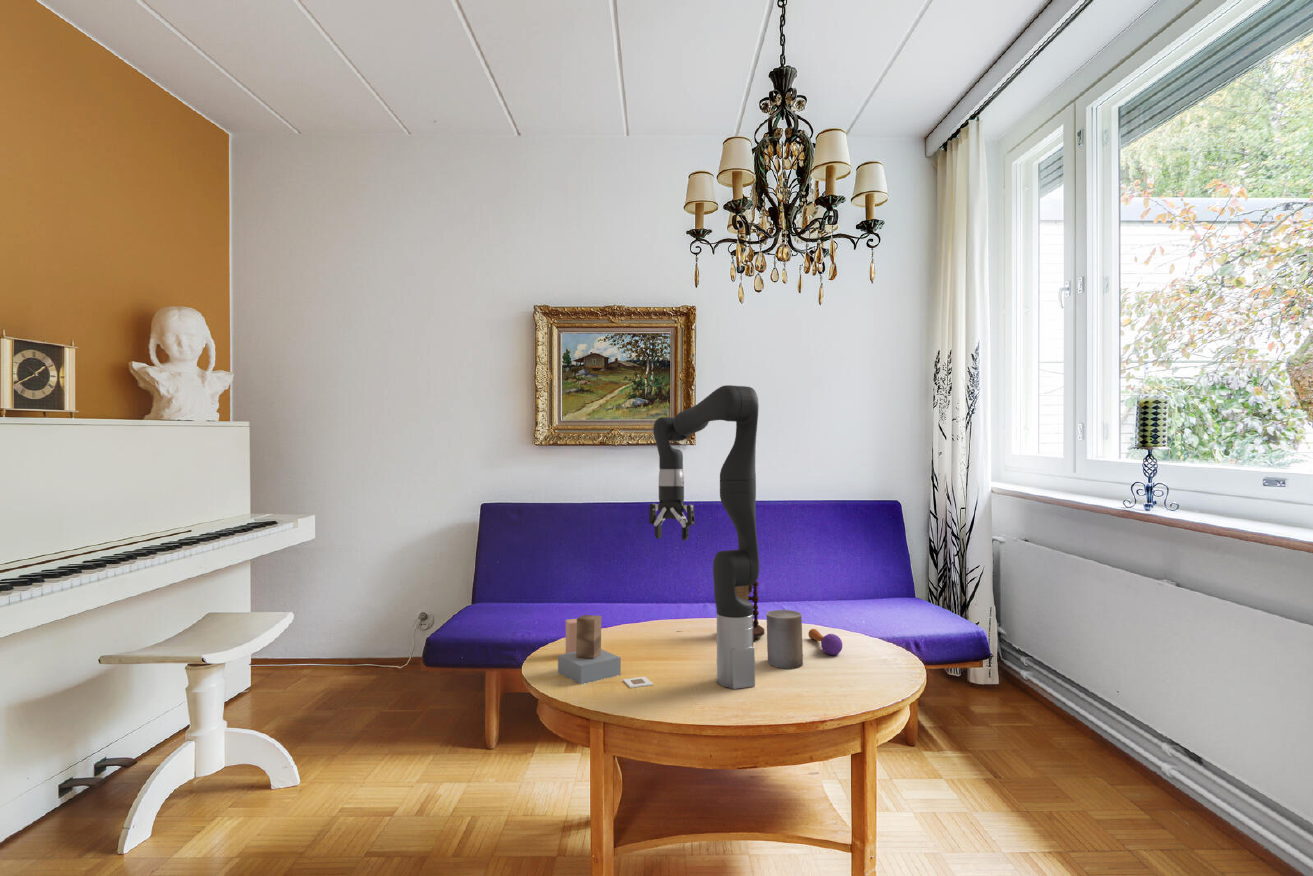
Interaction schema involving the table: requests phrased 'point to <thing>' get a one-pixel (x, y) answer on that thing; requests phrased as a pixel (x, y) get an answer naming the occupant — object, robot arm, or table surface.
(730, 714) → the table surface
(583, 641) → the walnut block
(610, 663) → the slate slab
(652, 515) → the robot arm
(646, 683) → the card
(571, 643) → the terracotta block
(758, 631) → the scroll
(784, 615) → the pillar candle
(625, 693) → the table surface
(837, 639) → the purple maraca
